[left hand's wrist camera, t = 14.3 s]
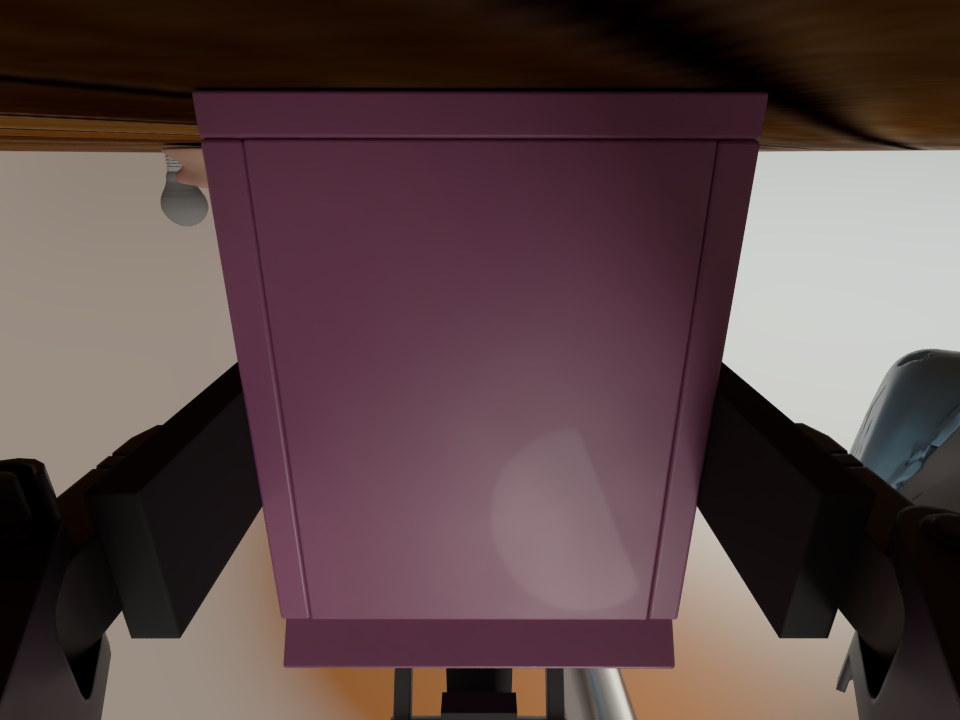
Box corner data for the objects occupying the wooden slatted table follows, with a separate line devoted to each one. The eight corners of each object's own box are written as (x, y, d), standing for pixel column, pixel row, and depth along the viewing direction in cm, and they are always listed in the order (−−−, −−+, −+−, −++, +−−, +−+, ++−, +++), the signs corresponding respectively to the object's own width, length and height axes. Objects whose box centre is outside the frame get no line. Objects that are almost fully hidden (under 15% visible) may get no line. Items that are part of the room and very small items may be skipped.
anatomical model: (159, 207, 36) (330, 203, 40) (146, 146, 34) (324, 147, 38) (184, 196, 47) (314, 193, 51) (175, 149, 46) (309, 150, 50)
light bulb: (187, 152, 70) (201, 228, 73) (205, 153, 75) (217, 223, 79) (141, 152, 69) (157, 228, 73) (162, 153, 75) (177, 223, 78)
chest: (596, 140, 21) (577, 394, 24) (363, 139, 21) (381, 393, 24) (771, 90, 8) (678, 621, 12) (188, 88, 8) (280, 620, 12)
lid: (572, 529, 26) (577, 728, 24) (386, 528, 26) (380, 727, 24) (672, 614, 12) (699, 1074, 11) (285, 613, 12) (256, 1073, 11)
